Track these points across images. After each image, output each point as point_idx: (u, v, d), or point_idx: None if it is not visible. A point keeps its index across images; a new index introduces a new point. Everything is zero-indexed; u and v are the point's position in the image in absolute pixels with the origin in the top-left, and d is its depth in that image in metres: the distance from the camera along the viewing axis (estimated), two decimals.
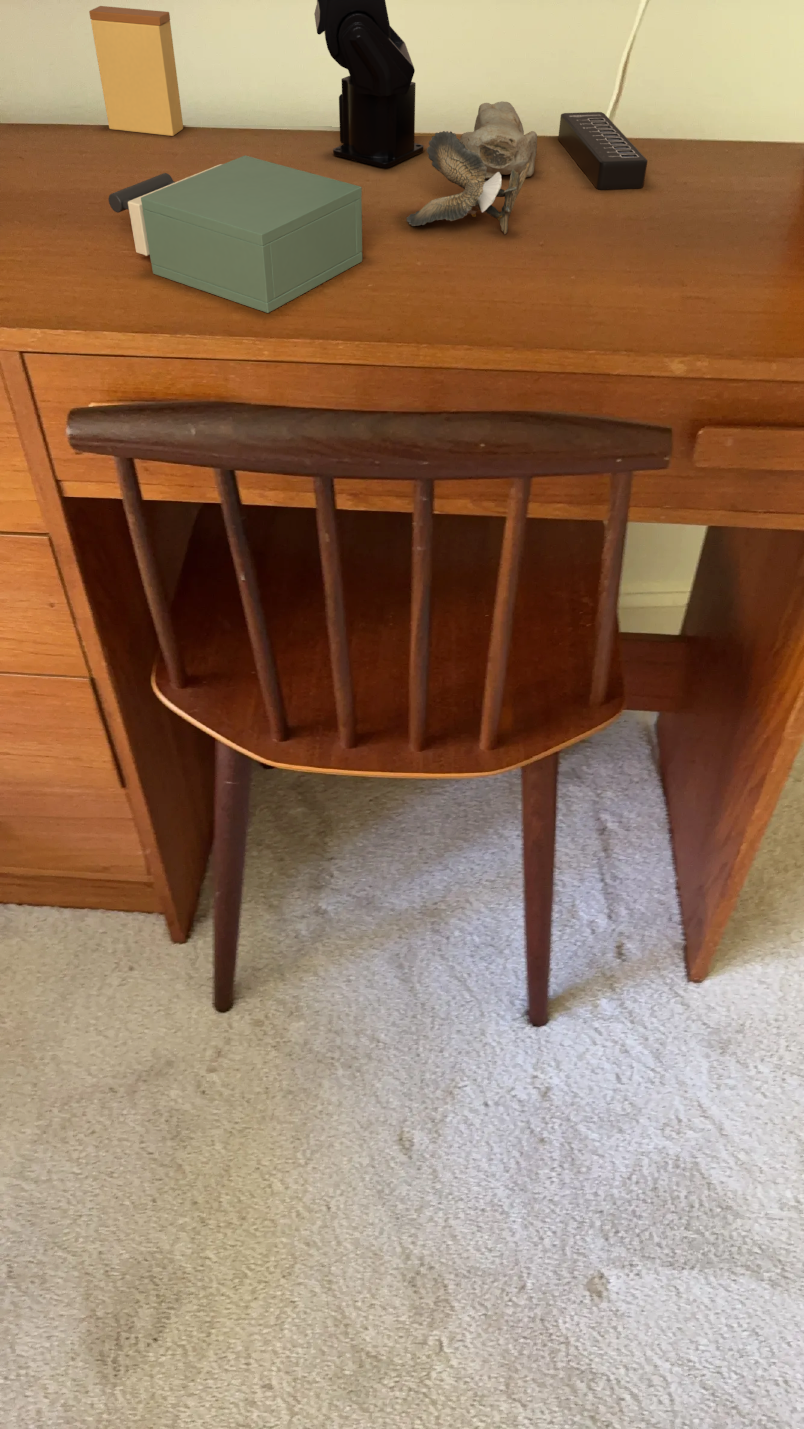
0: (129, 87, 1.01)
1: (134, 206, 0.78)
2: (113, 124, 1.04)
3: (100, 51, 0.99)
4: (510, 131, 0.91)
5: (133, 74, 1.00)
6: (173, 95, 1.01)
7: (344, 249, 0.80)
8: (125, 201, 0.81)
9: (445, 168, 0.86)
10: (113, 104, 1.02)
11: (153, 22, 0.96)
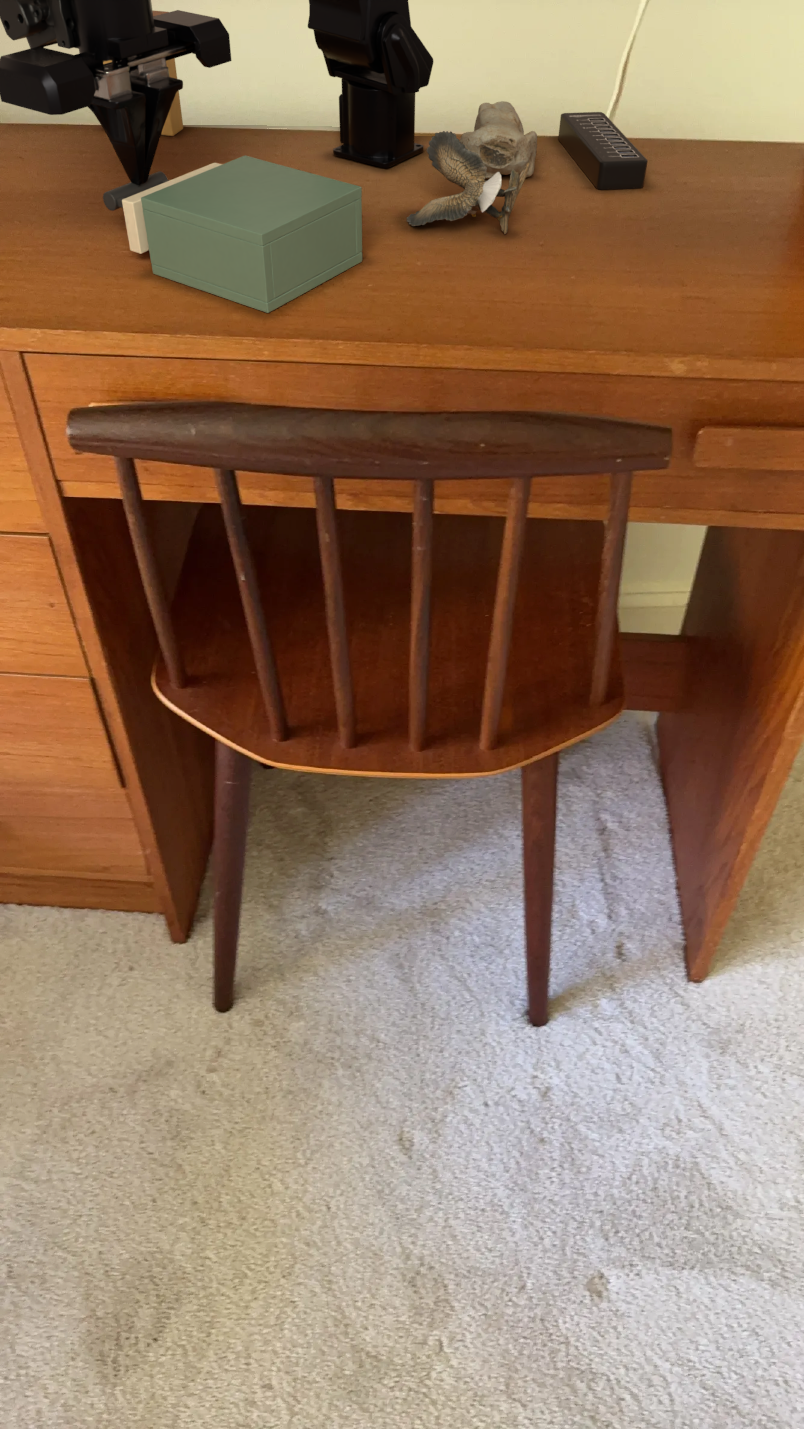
0: None
1: (128, 205, 0.78)
2: None
3: None
4: (510, 131, 0.91)
5: None
6: None
7: (344, 249, 0.80)
8: (119, 199, 0.82)
9: (445, 168, 0.86)
10: None
11: None
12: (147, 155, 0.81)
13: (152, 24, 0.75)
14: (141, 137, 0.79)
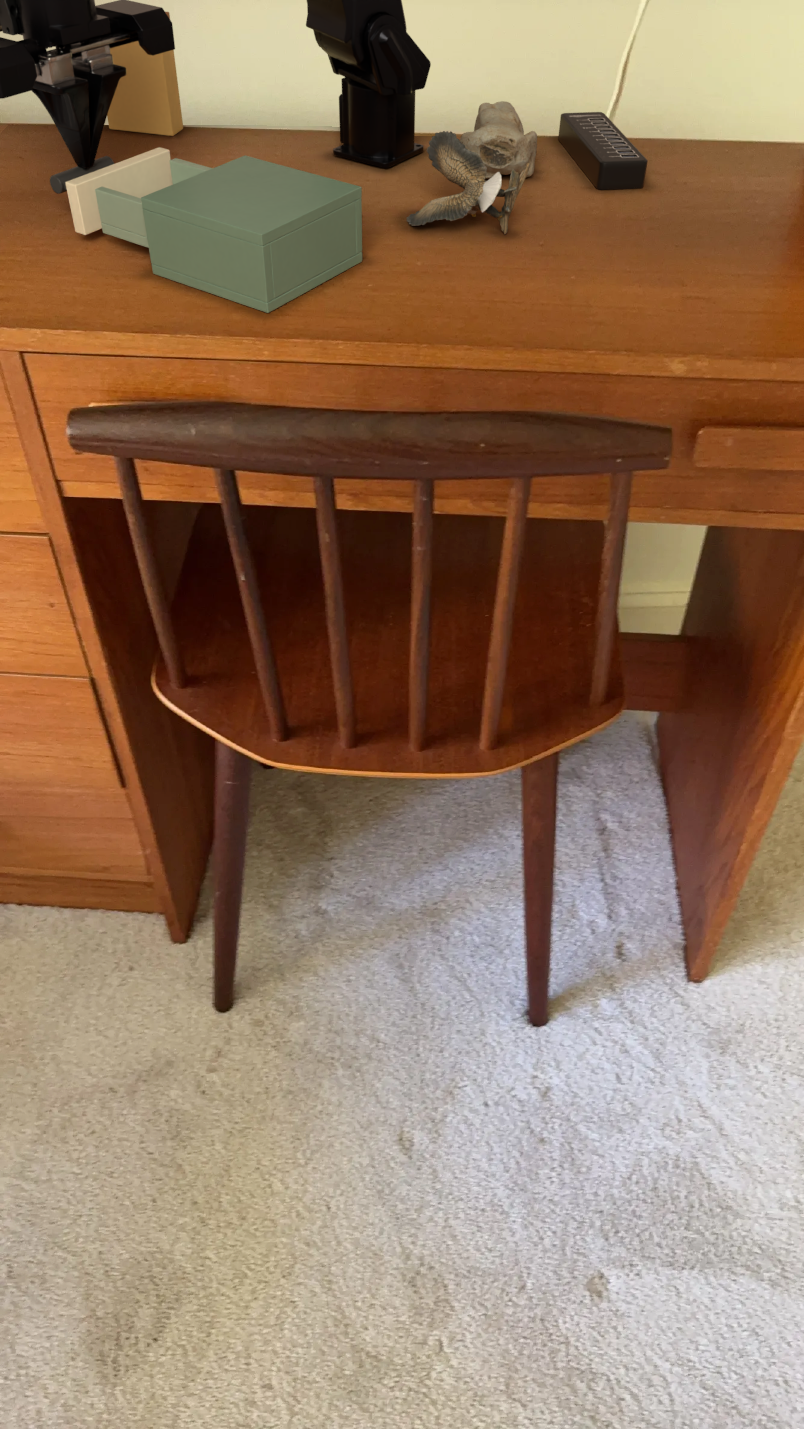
0: (129, 87, 1.01)
1: (71, 187, 0.80)
2: (113, 124, 1.04)
3: None
4: (510, 131, 0.91)
5: (133, 74, 1.00)
6: (173, 95, 1.01)
7: (344, 249, 0.80)
8: (65, 182, 0.84)
9: (445, 168, 0.86)
10: (113, 104, 1.02)
11: None
12: (92, 140, 0.84)
13: (93, 12, 0.78)
14: (85, 122, 0.82)
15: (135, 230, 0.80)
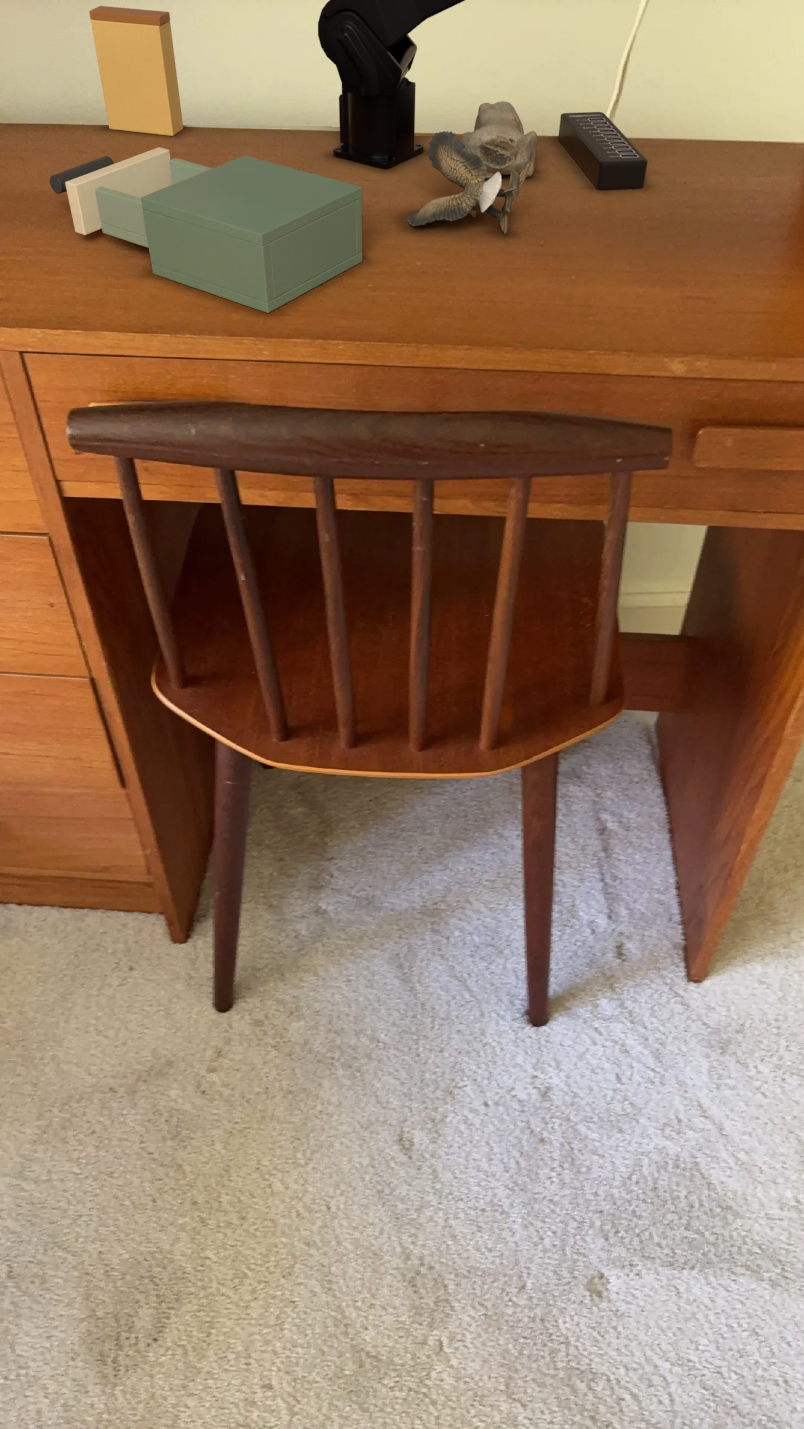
0: (129, 87, 1.01)
1: (71, 187, 0.80)
2: (113, 124, 1.04)
3: (100, 51, 0.99)
4: (510, 131, 0.91)
5: (133, 74, 1.00)
6: (173, 95, 1.01)
7: (344, 249, 0.80)
8: (65, 182, 0.84)
9: (445, 168, 0.86)
10: (113, 104, 1.02)
11: (153, 22, 0.96)
12: None
13: None
14: None
15: (135, 230, 0.80)
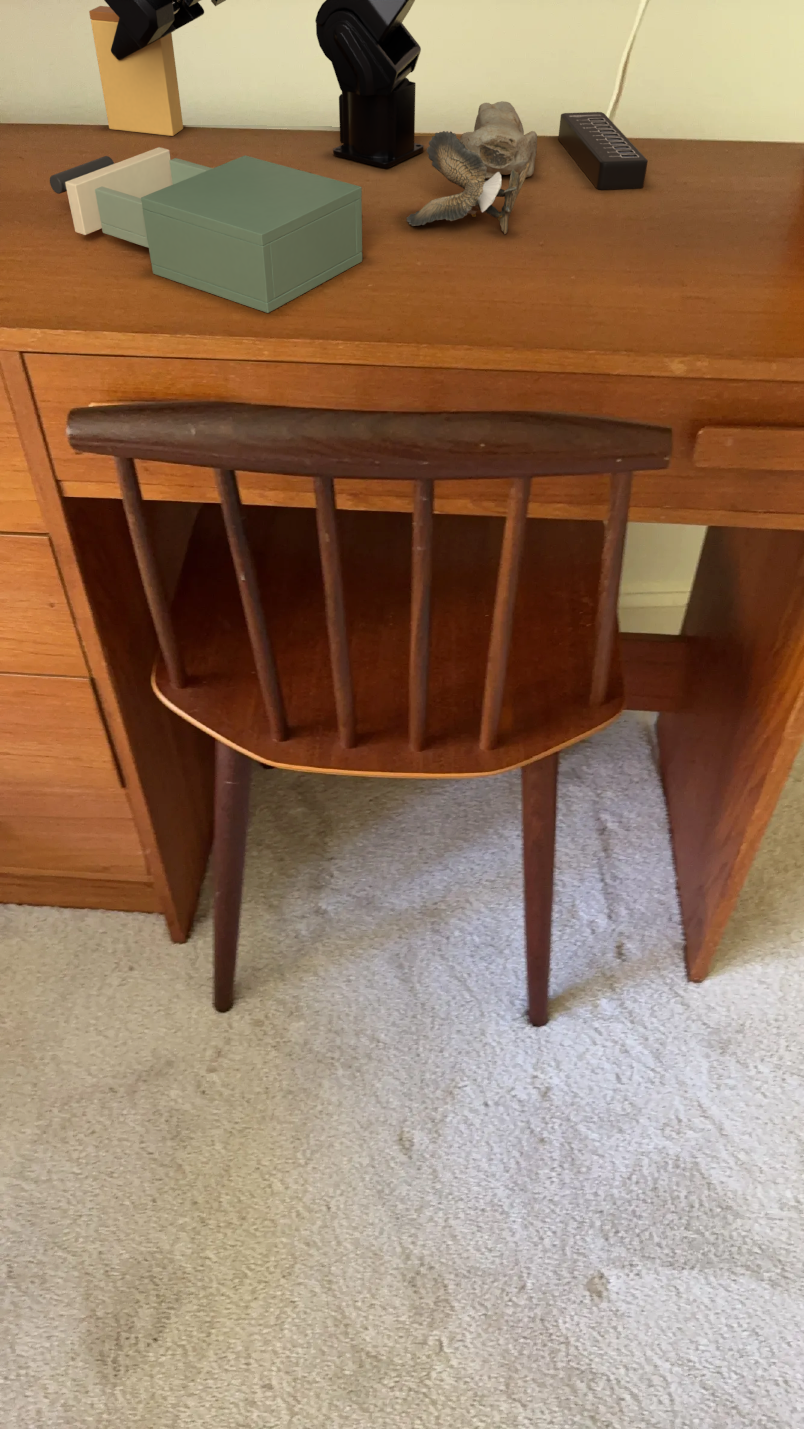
0: (129, 87, 1.01)
1: (71, 187, 0.80)
2: (113, 124, 1.04)
3: (99, 51, 0.99)
4: (510, 131, 0.91)
5: (133, 74, 1.00)
6: (173, 95, 1.01)
7: (344, 249, 0.80)
8: (65, 182, 0.84)
9: (445, 168, 0.86)
10: (113, 104, 1.02)
11: None
12: None
13: None
14: None
15: (135, 230, 0.80)
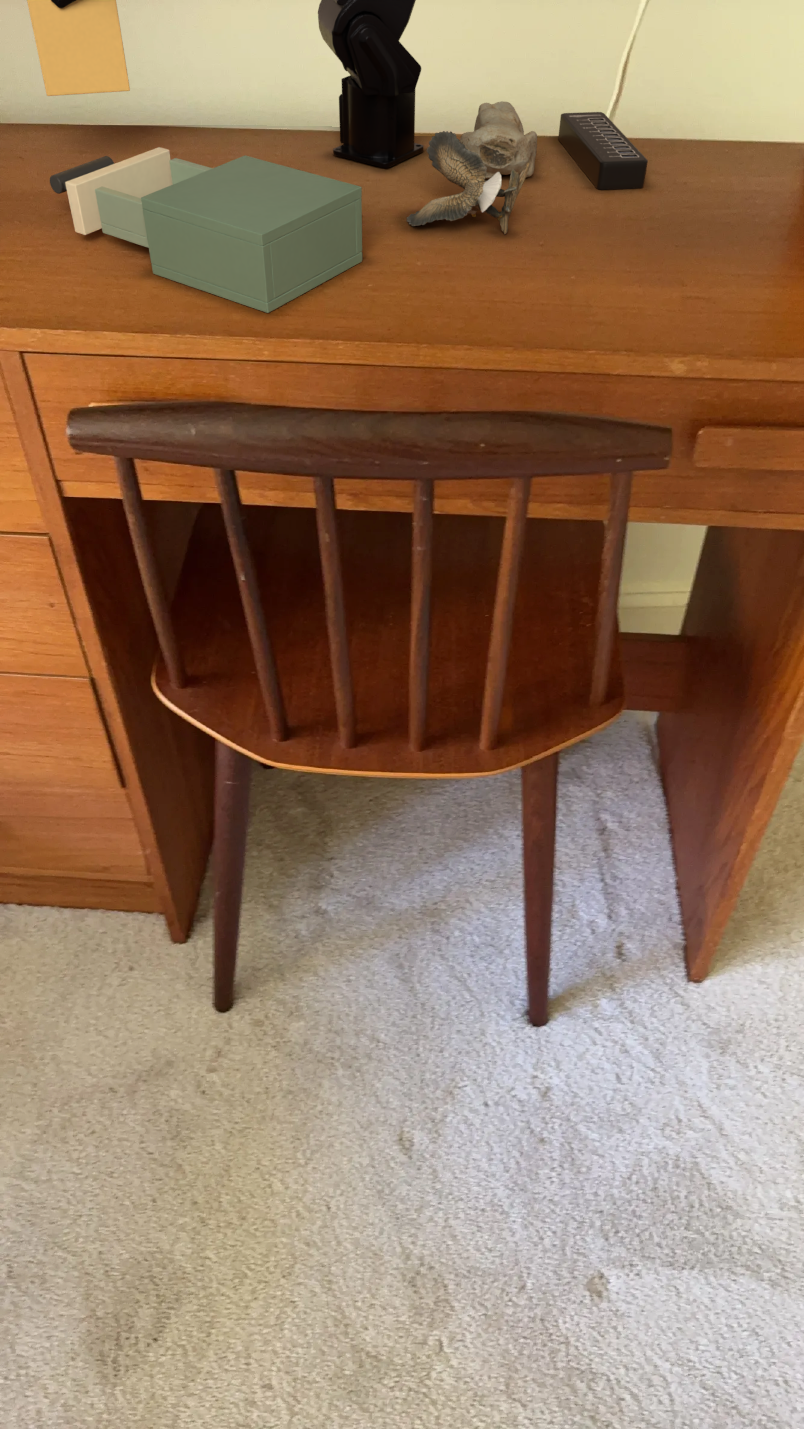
0: (72, 41, 0.86)
1: (71, 187, 0.80)
2: (52, 89, 0.88)
3: (32, 1, 0.84)
4: (510, 131, 0.91)
5: (77, 24, 0.86)
6: None
7: (344, 249, 0.80)
8: (65, 182, 0.84)
9: (445, 168, 0.86)
10: (51, 65, 0.87)
11: None
12: None
13: None
14: None
15: (135, 230, 0.80)
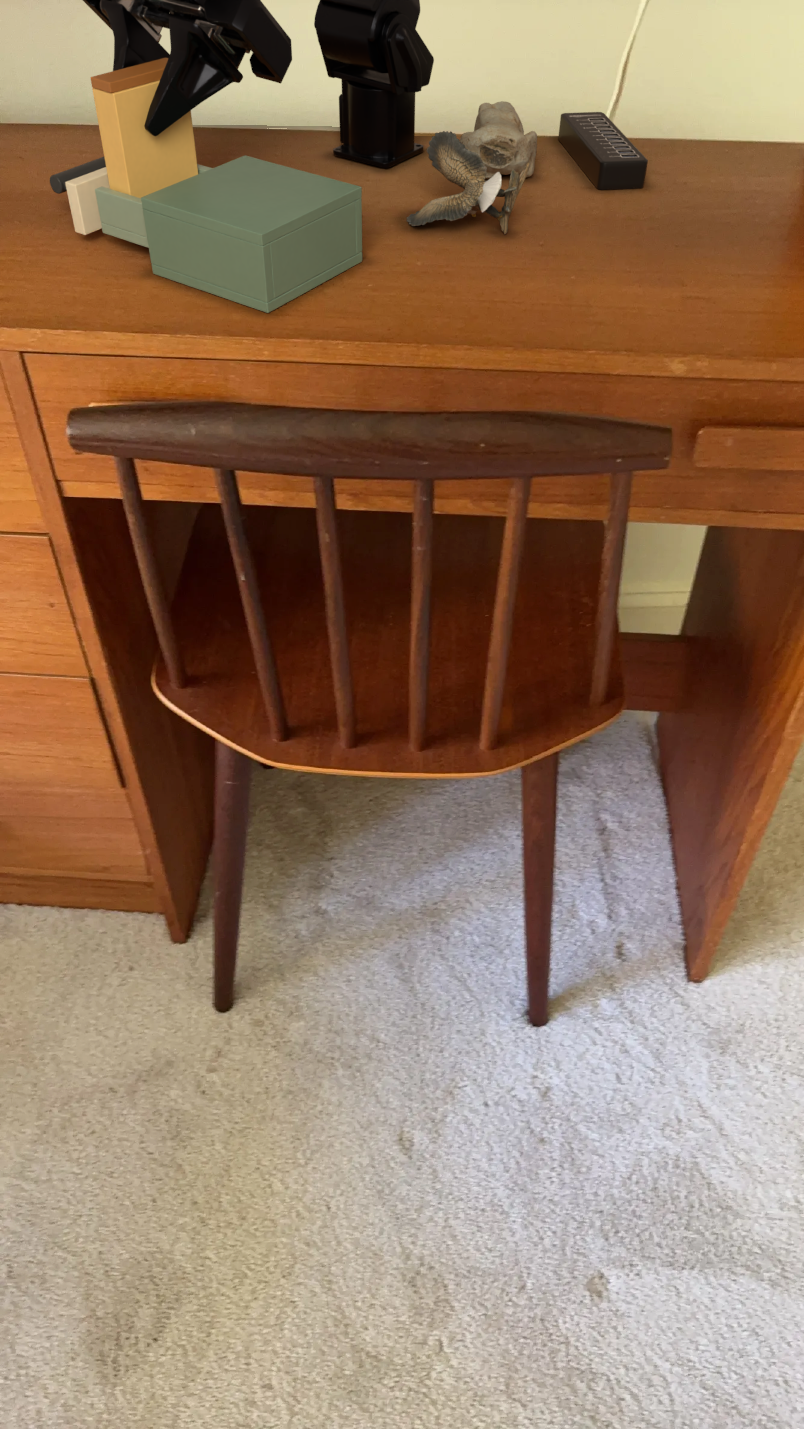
0: (156, 164, 0.80)
1: (71, 187, 0.80)
2: None
3: (124, 130, 0.77)
4: (510, 131, 0.91)
5: (161, 145, 0.80)
6: None
7: (344, 249, 0.80)
8: (65, 182, 0.84)
9: (445, 168, 0.86)
10: (139, 194, 0.80)
11: None
12: None
13: None
14: None
15: (135, 230, 0.80)
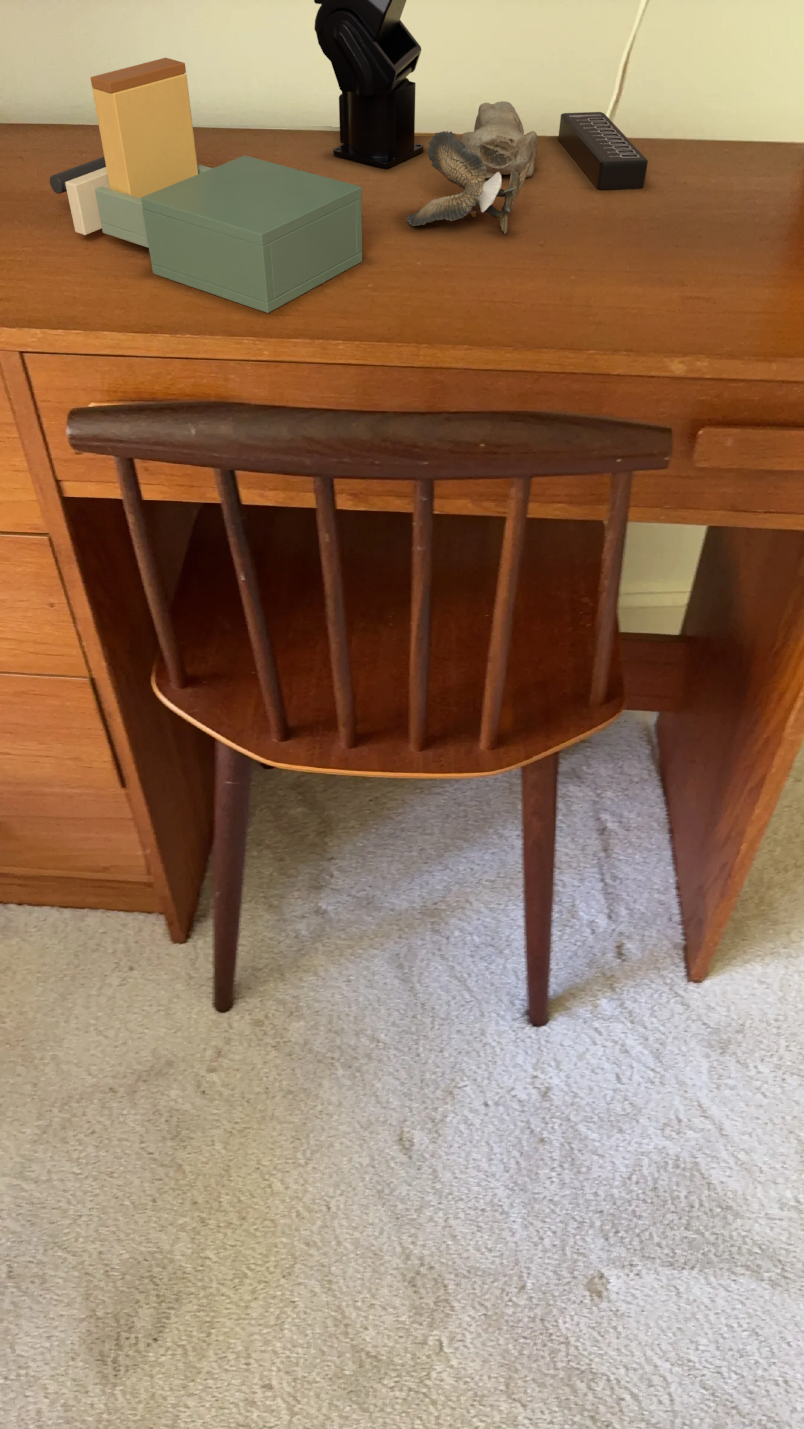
0: (156, 164, 0.80)
1: (71, 187, 0.80)
2: None
3: (124, 130, 0.77)
4: (510, 131, 0.91)
5: (161, 145, 0.80)
6: None
7: (344, 249, 0.80)
8: (65, 182, 0.84)
9: (445, 168, 0.86)
10: (139, 194, 0.80)
11: (180, 71, 0.78)
12: None
13: None
14: None
15: (135, 230, 0.80)
